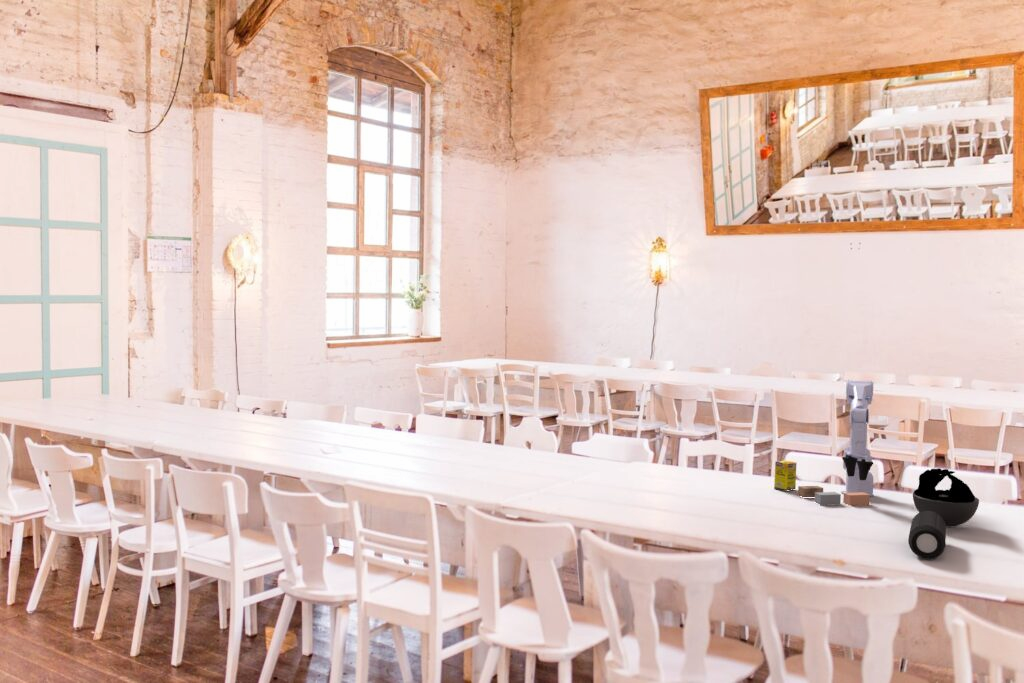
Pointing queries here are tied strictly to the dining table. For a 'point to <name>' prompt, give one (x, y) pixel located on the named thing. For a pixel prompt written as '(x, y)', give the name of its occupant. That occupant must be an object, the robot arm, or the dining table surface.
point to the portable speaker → (927, 535)
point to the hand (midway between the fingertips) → (856, 478)
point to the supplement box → (785, 475)
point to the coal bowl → (945, 497)
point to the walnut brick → (809, 490)
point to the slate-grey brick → (827, 498)
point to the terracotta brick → (856, 498)
